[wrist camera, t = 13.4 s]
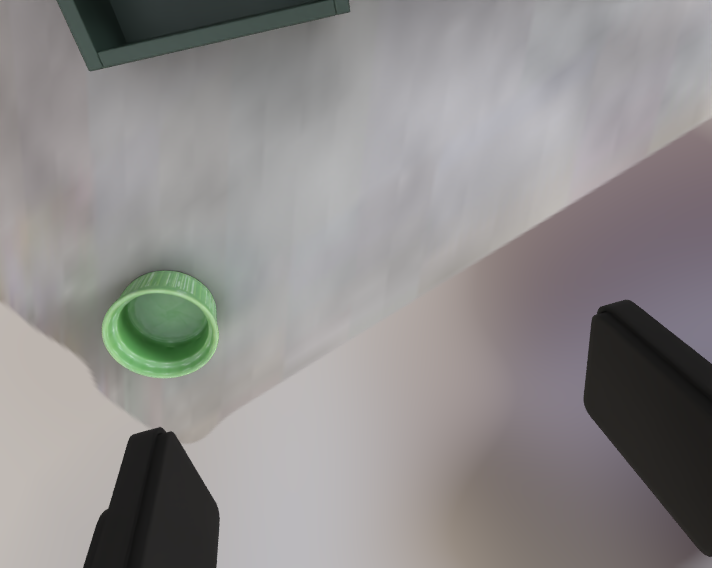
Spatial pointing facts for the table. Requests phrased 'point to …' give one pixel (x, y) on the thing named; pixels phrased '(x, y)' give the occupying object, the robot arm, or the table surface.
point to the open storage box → (177, 24)
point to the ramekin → (162, 325)
